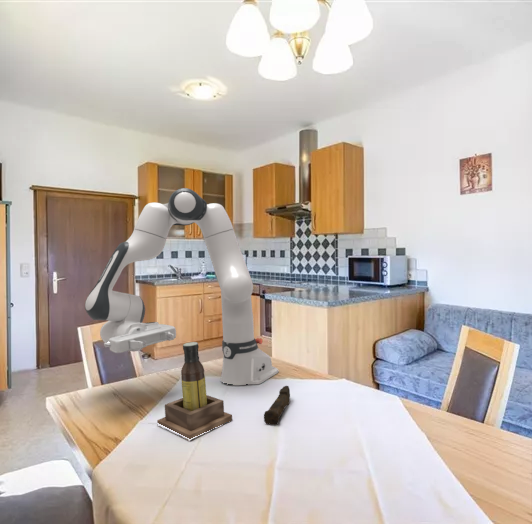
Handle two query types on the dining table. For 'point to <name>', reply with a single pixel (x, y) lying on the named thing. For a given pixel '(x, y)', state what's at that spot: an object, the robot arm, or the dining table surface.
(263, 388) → the dining table surface
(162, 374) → the dining table surface
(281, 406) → the hand tool
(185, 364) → the sauce bottle
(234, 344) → the robot arm
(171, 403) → the socket holder
